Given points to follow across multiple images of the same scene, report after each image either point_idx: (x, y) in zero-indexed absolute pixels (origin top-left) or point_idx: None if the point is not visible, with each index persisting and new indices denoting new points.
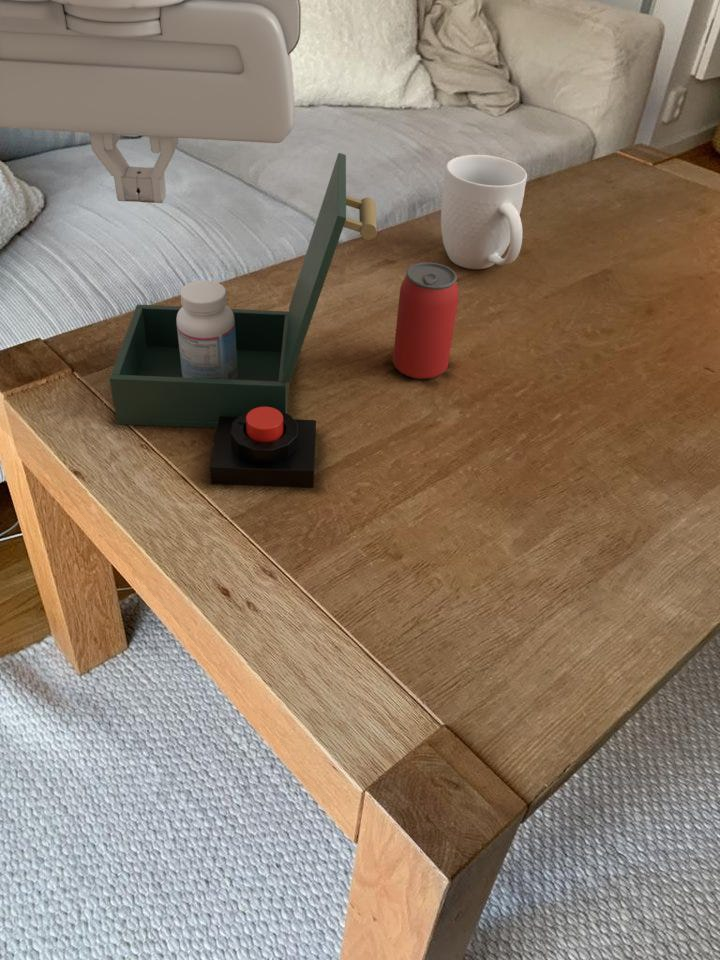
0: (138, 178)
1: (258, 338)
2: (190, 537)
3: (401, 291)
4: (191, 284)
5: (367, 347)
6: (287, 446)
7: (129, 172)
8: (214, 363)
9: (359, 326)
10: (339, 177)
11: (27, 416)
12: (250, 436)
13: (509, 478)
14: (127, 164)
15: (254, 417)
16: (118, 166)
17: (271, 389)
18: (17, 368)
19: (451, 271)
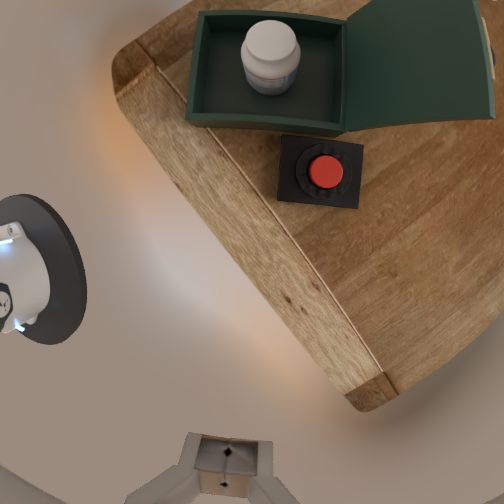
0: (228, 495)
1: (312, 32)
2: (264, 253)
3: None
4: (256, 27)
5: None
6: (342, 194)
7: (206, 484)
8: (278, 86)
9: None
10: (474, 7)
11: (131, 123)
12: (312, 181)
13: (470, 208)
14: (195, 475)
15: (318, 171)
16: (188, 500)
17: (333, 130)
18: (116, 69)
19: (492, 50)
